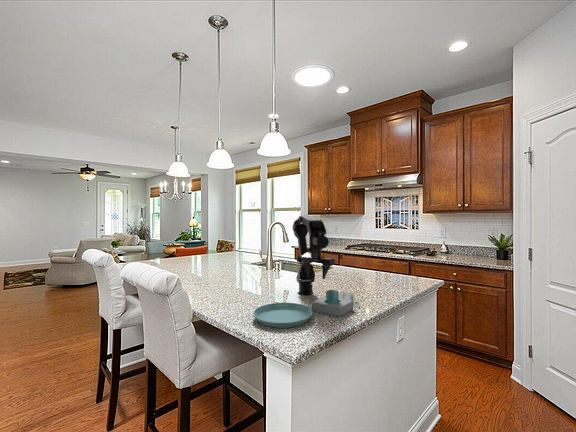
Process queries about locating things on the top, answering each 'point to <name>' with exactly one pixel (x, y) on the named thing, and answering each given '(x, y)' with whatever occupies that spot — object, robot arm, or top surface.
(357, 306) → the metal bracket
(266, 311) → the saucer
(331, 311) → the well block
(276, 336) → the top surface
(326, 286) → the top surface
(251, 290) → the top surface
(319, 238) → the robot arm
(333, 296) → the teal peg
